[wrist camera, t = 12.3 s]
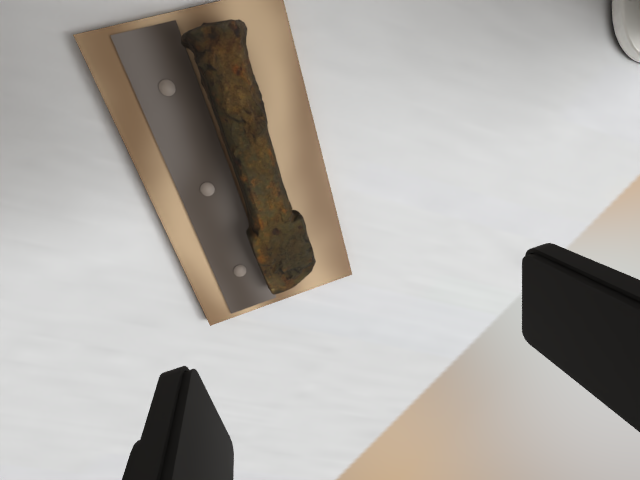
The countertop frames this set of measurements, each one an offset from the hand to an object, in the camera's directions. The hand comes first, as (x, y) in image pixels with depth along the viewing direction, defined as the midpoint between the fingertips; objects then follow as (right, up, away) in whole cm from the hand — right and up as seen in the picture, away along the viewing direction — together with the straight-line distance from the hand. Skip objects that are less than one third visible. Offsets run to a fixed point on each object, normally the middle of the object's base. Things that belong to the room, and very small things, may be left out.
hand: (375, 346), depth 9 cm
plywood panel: (-8, +8, +17) cm, 20 cm away
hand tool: (-8, +7, +15) cm, 18 cm away
